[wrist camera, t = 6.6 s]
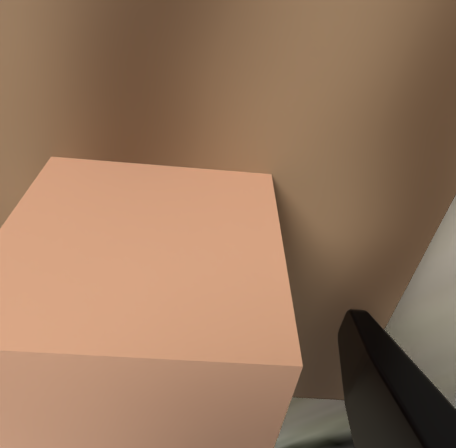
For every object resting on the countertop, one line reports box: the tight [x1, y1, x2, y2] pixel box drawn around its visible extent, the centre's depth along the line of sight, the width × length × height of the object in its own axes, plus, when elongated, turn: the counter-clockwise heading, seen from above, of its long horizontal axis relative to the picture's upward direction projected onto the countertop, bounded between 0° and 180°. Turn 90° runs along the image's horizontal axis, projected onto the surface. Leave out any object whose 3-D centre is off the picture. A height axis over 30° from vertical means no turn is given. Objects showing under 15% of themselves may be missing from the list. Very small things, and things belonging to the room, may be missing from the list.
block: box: [0, 157, 303, 448], centre depth 9 cm, size 5×5×5 cm
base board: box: [0, 0, 456, 400], centre depth 12 cm, size 14×14×2 cm
